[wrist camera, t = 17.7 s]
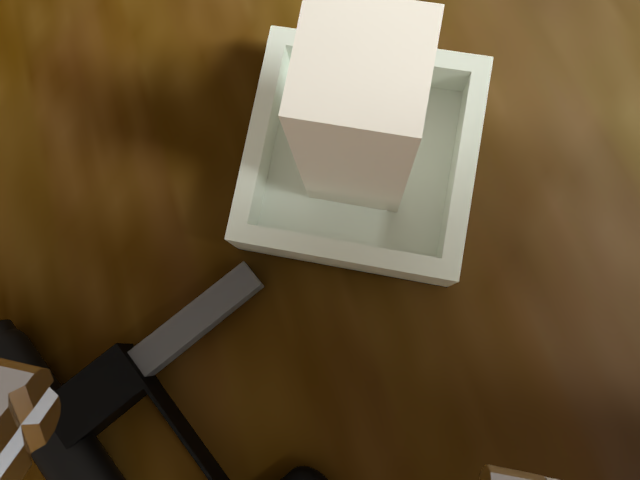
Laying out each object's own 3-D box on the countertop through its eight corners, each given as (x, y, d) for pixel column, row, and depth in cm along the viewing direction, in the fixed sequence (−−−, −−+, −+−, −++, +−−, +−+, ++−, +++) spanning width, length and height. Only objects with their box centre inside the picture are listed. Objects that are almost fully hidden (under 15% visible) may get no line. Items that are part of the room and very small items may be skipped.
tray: (479, 85, 33) (493, 56, 29) (447, 287, 31) (458, 282, 27) (279, 56, 34) (270, 25, 30) (238, 249, 32) (224, 239, 28)
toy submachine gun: (177, 177, 31) (-71, 363, 29) (413, 477, 27) (149, 708, 26) (192, 193, 34) (-30, 362, 32) (405, 464, 31) (170, 667, 29)
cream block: (411, 127, 31) (444, 4, 20) (397, 212, 31) (421, 138, 19) (325, 113, 32) (305, -15, 20) (308, 197, 31) (278, 115, 19)
